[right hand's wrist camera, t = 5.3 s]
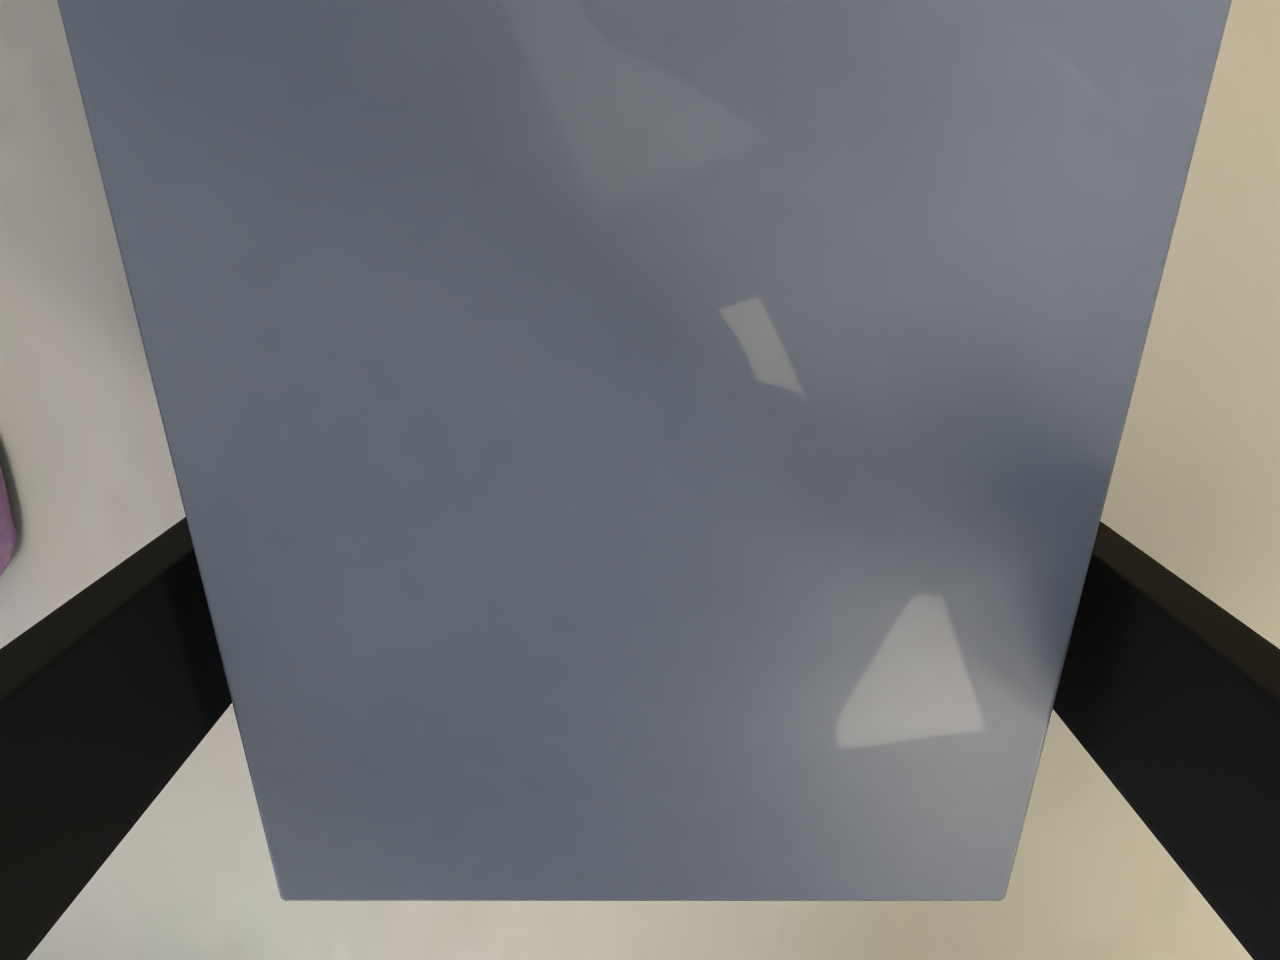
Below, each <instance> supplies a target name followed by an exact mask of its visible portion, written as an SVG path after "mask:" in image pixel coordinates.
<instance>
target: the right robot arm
mask: <svg viewBox="0 0 1280 960" xmlns="http://www.w3.org/2000/svg"><path fill="white" fill-rule="evenodd" d="M231 703H232V699H231V695H230V691H229V687H228V683H227V679H226V675H225V671H224V667H223V663H222V659H221V655H220V651H219V647H218V643H217V639H216V635H215V631H214V627H213V623H212V619H211V615H210V611H209V607H208V603H207V599H206V595H205V591H204V587H203V583H202V579H201V575H200V571H199V567H198V562H197V558H196V554H195V550H194V546H193V542H192V538H191V534H190V530H189V526H188V522H187V518H186V517H185V518H184V519H182V520H181V521H179V522H178V523H177V524H175V525H174V526H172V527H171V528H170V529H168V530H167V531H165V532H164V533H163V534H161V535H160V536H158V537H157V538H156V539H154V540H153V541H151V542H150V543H149V544H147V545H146V546H144V547H143V548H142V549H140V550H139V551H137V552H136V553H135V554H133V555H132V556H130V557H129V558H128V559H126V560H125V561H123V562H122V563H121V564H119V565H118V566H116V567H115V568H114V569H112V570H111V571H109V572H108V573H107V574H105V575H104V576H102V577H101V578H100V579H98V580H97V581H95V582H94V583H93V584H91V585H90V586H88V587H87V588H86V589H84V590H83V591H81V592H80V593H79V594H77V595H76V596H74V597H73V598H72V599H70V600H69V601H67V602H66V603H65V604H63V605H62V606H60V607H59V608H58V609H56V610H55V611H53V612H52V613H51V614H49V615H48V616H46V617H45V618H44V619H42V620H41V621H39V622H38V623H37V624H35V625H34V626H32V627H31V628H30V629H28V630H27V631H25V632H24V633H23V634H21V635H20V636H18V637H17V638H16V639H14V640H13V641H11V642H10V643H9V644H7V645H6V646H4V647H3V648H2V649H0V960H26V959H27V958H28V957H29V956H30V954H31V953H32V952H33V951H34V949H35V948H36V947H37V946H38V944H39V943H40V942H41V941H42V939H43V938H44V937H45V936H46V934H47V933H48V932H49V931H50V929H51V928H52V927H53V926H54V924H55V923H56V922H57V921H58V919H59V918H60V917H61V916H62V914H63V913H64V912H65V911H66V909H67V908H68V907H69V906H70V904H71V903H72V902H73V901H74V899H75V898H76V897H77V896H78V894H79V893H80V892H81V891H82V889H83V888H84V887H85V886H86V884H87V883H88V882H89V881H90V879H91V878H92V877H93V876H94V874H95V873H96V872H97V871H98V869H99V868H100V867H101V866H102V864H103V863H104V862H105V861H106V859H107V858H108V857H109V856H110V854H111V853H112V852H113V851H114V849H115V848H116V847H117V846H118V844H119V843H120V842H121V841H122V839H123V838H124V837H125V836H126V834H127V833H128V832H129V831H130V829H131V828H132V827H133V826H134V824H135V823H136V822H137V821H138V819H139V818H140V817H141V816H142V814H143V813H144V812H145V811H146V809H147V808H148V807H149V806H150V804H151V803H152V802H153V801H154V799H155V798H156V797H157V796H158V794H159V793H160V792H161V791H162V789H163V788H164V787H165V786H166V784H167V783H168V782H169V781H170V779H171V778H172V777H173V776H174V774H175V773H176V772H177V771H178V769H179V768H180V767H181V766H182V764H183V763H184V762H185V761H186V759H187V758H188V757H189V756H190V754H191V753H192V752H193V751H194V749H195V748H196V747H197V746H198V744H199V743H200V742H201V741H202V739H203V738H204V737H205V736H206V734H207V733H208V732H209V731H210V729H211V728H212V727H213V726H214V724H215V723H216V722H217V721H218V719H219V718H220V717H221V716H222V714H223V713H224V712H225V711H226V709H227V708H228V707H229V706H230V704H231ZM1053 709H1054V711H1055V712H1056V713H1057V714H1058V716H1059V717H1060V718H1061V719H1062V721H1063V722H1064V723H1065V724H1066V726H1067V727H1068V728H1069V729H1070V731H1071V732H1072V733H1073V734H1074V736H1075V737H1076V738H1077V739H1078V741H1079V742H1080V743H1081V744H1082V746H1083V747H1084V748H1085V749H1086V751H1087V752H1088V753H1089V754H1090V756H1091V757H1092V758H1093V759H1094V761H1095V762H1096V763H1097V764H1098V766H1099V767H1100V768H1101V769H1102V771H1103V772H1104V773H1105V774H1106V776H1107V777H1108V778H1109V779H1110V781H1111V782H1112V783H1113V784H1114V786H1115V787H1116V788H1117V789H1118V791H1119V792H1120V793H1121V794H1122V796H1123V797H1124V798H1125V799H1126V801H1127V802H1128V803H1129V804H1130V806H1131V807H1132V808H1133V809H1134V811H1135V812H1136V813H1137V814H1138V816H1139V817H1140V818H1141V819H1142V821H1143V822H1144V823H1145V824H1146V826H1147V827H1148V828H1149V829H1150V831H1151V832H1152V833H1153V834H1154V836H1155V837H1156V838H1157V839H1158V841H1159V842H1160V843H1161V844H1162V846H1163V847H1164V848H1165V849H1166V851H1167V852H1168V853H1169V854H1170V856H1171V857H1172V858H1173V859H1174V861H1175V862H1176V863H1177V864H1178V866H1179V867H1180V868H1181V869H1182V871H1183V872H1184V873H1185V874H1186V876H1187V877H1188V878H1189V879H1190V881H1191V882H1192V883H1193V884H1194V886H1195V887H1196V888H1197V889H1198V891H1199V892H1200V893H1201V894H1202V896H1203V897H1204V898H1205V899H1206V901H1207V902H1208V903H1209V904H1210V906H1211V907H1212V908H1213V909H1214V911H1215V912H1216V913H1217V914H1218V916H1219V917H1220V918H1221V919H1222V921H1223V922H1224V923H1225V924H1226V926H1227V927H1228V928H1229V929H1230V931H1231V932H1232V933H1233V934H1234V936H1235V937H1236V938H1237V939H1238V941H1239V942H1240V943H1241V944H1242V946H1243V947H1244V948H1245V949H1246V951H1247V952H1248V953H1249V954H1250V956H1251V957H1252V958H1253V959H1254V960H1280V649H1278V648H1277V647H1276V646H1274V645H1273V644H1271V643H1270V642H1269V641H1267V640H1266V639H1264V638H1263V637H1262V636H1260V635H1259V634H1257V633H1256V632H1255V631H1253V630H1252V629H1250V628H1249V627H1248V626H1246V625H1245V624H1243V623H1242V622H1241V621H1239V620H1238V619H1236V618H1235V617H1234V616H1232V615H1231V614H1229V613H1228V612H1227V611H1225V610H1224V609H1222V608H1221V607H1220V606H1218V605H1217V604H1215V603H1214V602H1213V601H1211V600H1210V599H1208V598H1207V597H1206V596H1204V595H1203V594H1201V593H1200V592H1199V591H1197V590H1196V589H1194V588H1193V587H1192V586H1190V585H1189V584H1187V583H1186V582H1185V581H1183V580H1182V579H1180V578H1179V577H1178V576H1176V575H1175V574H1173V573H1172V572H1171V571H1169V570H1168V569H1166V568H1165V567H1164V566H1162V565H1161V564H1159V563H1158V562H1157V561H1155V560H1154V559H1152V558H1151V557H1150V556H1148V555H1147V554H1145V553H1144V552H1143V551H1141V550H1140V549H1138V548H1137V547H1136V546H1134V545H1133V544H1131V543H1130V542H1129V541H1127V540H1126V539H1124V538H1123V537H1122V536H1120V535H1119V534H1117V533H1116V532H1115V531H1113V530H1112V529H1110V528H1109V527H1108V526H1106V525H1105V524H1103V523H1102V522H1101V521H1100V523H1099V527H1098V531H1097V535H1096V538H1095V542H1094V546H1093V550H1092V554H1091V558H1090V562H1089V566H1088V570H1087V574H1086V578H1085V582H1084V586H1083V590H1082V594H1081V598H1080V602H1079V606H1078V610H1077V614H1076V618H1075V622H1074V625H1073V629H1072V633H1071V637H1070V641H1069V645H1068V649H1067V653H1066V657H1065V661H1064V665H1063V669H1062V673H1061V677H1060V681H1059V685H1058V689H1057V693H1056V697H1055V701H1054V705H1053Z"/></svg>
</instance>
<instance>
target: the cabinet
mask: <svg viewBox="0 0 1280 960" xmlns="http://www.w3.org/2000/svg"><path fill="white" fill-rule="evenodd" d="M58 4H59V8H60V12H61V16H62V20H63V24H64V28H65V32H66V36H67V40H68V44H69V48H70V52H71V56H72V60H73V64H74V68H75V72H76V76H77V80H78V84H79V88H80V92H81V96H82V101H83V105H84V109H85V113H86V117H87V121H88V125H89V129H90V133H91V137H92V141H93V145H94V149H95V153H96V157H97V161H98V165H99V169H100V173H101V177H102V181H103V185H104V189H105V193H106V197H107V201H108V205H109V209H110V213H111V217H112V221H113V225H114V229H115V233H116V237H117V241H118V245H119V249H120V253H121V257H122V261H123V265H124V269H125V273H126V277H127V281H128V285H129V289H130V293H131V297H132V301H133V305H134V309H135V313H136V317H137V321H138V325H139V329H140V334H141V338H142V342H143V346H144V350H145V354H146V358H147V362H148V366H149V370H150V374H151V378H152V382H153V386H154V390H155V394H156V398H157V402H158V406H159V410H160V414H161V418H162V422H163V426H164V430H165V434H166V438H167V442H168V446H169V450H170V454H171V458H172V462H173V466H174V470H175V474H176V478H177V482H178V486H179V490H180V494H181V498H182V502H183V506H184V510H185V514H186V518H187V522H188V526H189V530H190V534H191V538H192V542H193V546H194V550H195V554H196V558H197V562H198V567H199V571H200V575H201V579H202V583H203V587H204V591H205V595H206V599H207V603H208V607H209V611H210V615H211V619H212V623H213V627H214V631H215V635H216V639H217V643H218V647H219V651H220V655H221V659H222V663H223V667H224V671H225V675H226V679H227V683H228V687H229V691H230V695H231V699H232V703H233V707H234V711H235V715H236V719H237V723H238V727H239V731H240V735H241V739H242V743H243V747H244V751H245V755H246V759H247V763H248V767H249V771H250V775H251V779H252V783H253V787H254V791H255V796H256V800H257V804H258V808H259V812H260V816H261V820H262V824H263V828H264V832H265V836H266V840H267V844H268V848H269V852H270V856H271V860H272V864H273V868H274V872H275V876H276V880H277V884H278V888H279V892H280V896H281V898H282V900H285V901H1001V900H1003V899H1004V898H1005V894H1006V891H1007V887H1008V883H1009V879H1010V875H1011V871H1012V867H1013V863H1014V859H1015V855H1016V851H1017V847H1018V843H1019V839H1020V835H1021V831H1022V827H1023V823H1024V819H1025V815H1026V811H1027V807H1028V804H1029V800H1030V796H1031V792H1032V788H1033V784H1034V780H1035V776H1036V772H1037V768H1038V764H1039V760H1040V756H1041V752H1042V748H1043V744H1044V740H1045V736H1046V732H1047V728H1048V724H1049V720H1050V716H1051V713H1052V709H1053V705H1054V701H1055V697H1056V693H1057V689H1058V685H1059V681H1060V677H1061V673H1062V669H1063V665H1064V661H1065V657H1066V653H1067V649H1068V645H1069V641H1070V637H1071V633H1072V629H1073V625H1074V622H1075V618H1076V614H1077V610H1078V606H1079V602H1080V598H1081V594H1082V590H1083V586H1084V582H1085V578H1086V574H1087V570H1088V566H1089V562H1090V558H1091V554H1092V550H1093V546H1094V542H1095V538H1096V535H1097V531H1098V527H1099V523H1100V519H1101V515H1102V511H1103V507H1104V503H1105V499H1106V495H1107V491H1108V487H1109V483H1110V479H1111V475H1112V471H1113V467H1114V463H1115V459H1116V455H1117V451H1118V447H1119V444H1120V440H1121V436H1122V432H1123V428H1124V424H1125V420H1126V416H1127V412H1128V408H1129V404H1130V400H1131V396H1132V392H1133V388H1134V384H1135V380H1136V376H1137V372H1138V368H1139V364H1140V360H1141V356H1142V353H1143V349H1144V345H1145V341H1146V337H1147V333H1148V329H1149V325H1150V321H1151V317H1152V313H1153V309H1154V305H1155V301H1156V297H1157V293H1158V289H1159V285H1160V281H1161V277H1162V273H1163V269H1164V266H1165V262H1166V258H1167V254H1168V250H1169V246H1170V242H1171V238H1172V234H1173V230H1174V226H1175V222H1176V218H1177V214H1178V210H1179V206H1180V202H1181V198H1182V194H1183V190H1184V186H1185V182H1186V178H1187V175H1188V171H1189V167H1190V163H1191V159H1192V155H1193V151H1194V147H1195V143H1196V139H1197V135H1198V131H1199V127H1200V123H1201V119H1202V115H1203V111H1204V107H1205V103H1206V99H1207V95H1208V91H1209V87H1210V84H1211V80H1212V76H1213V72H1214V68H1215V64H1216V60H1217V56H1218V52H1219V48H1220V44H1221V40H1222V36H1223V32H1224V28H1225V24H1226V20H1227V16H1228V12H1229V8H1230V4H1231V0H58Z"/></svg>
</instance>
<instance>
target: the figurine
mask: <svg viewBox="0 0 1280 960" xmlns="http://www.w3.org/2000/svg"><path fill="white" fill-rule="evenodd" d="M16 538H17V531H16V529H15V526H14V523H13V519H12V514H11V509H10V504H9V499H8V494H7V490H6V486H5V482H4V477H3V473H2V469H1V465H0V576H1V574H2V573H3V572H4V570H5V569H6V567H7V565H8V563H9V561H10V558H11V556H12V553H13V551H14V548H15V545H16Z"/></svg>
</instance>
